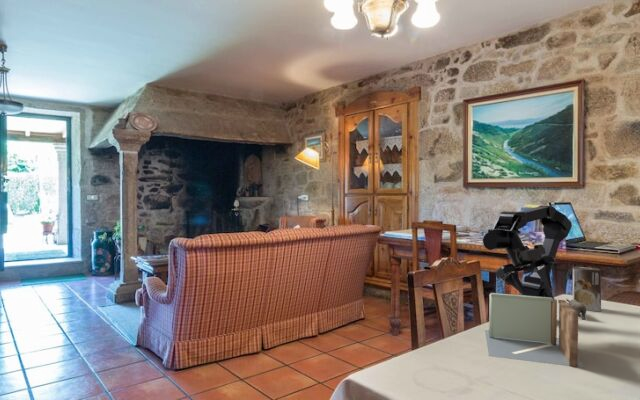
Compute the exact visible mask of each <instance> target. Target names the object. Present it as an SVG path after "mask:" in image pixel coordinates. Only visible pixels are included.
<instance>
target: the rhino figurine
mask: <svg viewBox="0 0 640 400" xmlns="http://www.w3.org/2000/svg"><path fill="white" fill-rule="evenodd" d="M565 301H566V302H567V303H568V304H569V305H570V306H571V307H572V308H573V309H574V310H575V311H576V312H578V317H582V318H581V320H582V321H587V319H586V317H587V316H586V314H587V310H586V307H585V306H584V305H583V304H581V303H580V302H577V301H576V300H575V299H573V298H572V299H571V300H569V299H568V298H566V300H565Z"/></svg>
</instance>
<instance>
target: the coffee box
mask: <svg viewBox="0 0 640 400" xmlns="http://www.w3.org/2000/svg"><path fill="white" fill-rule="evenodd" d="M572 299H575V300H576V301H577V302H580V303H581V304H583V305H584V306H585V307H586V311H591V312H598V313H600V312H602V271H601V269H600V268H597V267H584V266H572Z"/></svg>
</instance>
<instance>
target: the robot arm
mask: <svg viewBox="0 0 640 400" xmlns="http://www.w3.org/2000/svg"><path fill="white" fill-rule="evenodd" d="M534 221H539V223H540V224H541V225H542V227H543V228H542V231H543V234H544V240H543V242H542V243H540V244H534V245H533V248H530V247H529V246H528V245H524V243H523V241H522V239H521V237H520V234H521V232H522V231H521V230H520V229H523V228H524V227H526V226H527V225H528V223H531V222H534ZM572 225H573V223H572V221H571V220H570V219H569V218H568V216H567V215H566V214H564V213H562V212H561V211H559V210H558V209H556V207H554V206H552V205H539V206H538V207H533V208H529V209H525V210H520V211H509V210H508V211H505V210H504V211H501V212H500V215H499V216H498V218H497V220H496V221H495V223H494V225H493V227H492V228H488V230H487V233H485V234H484V236H483V238H482V244H483V247H485V249H487V250H489V251H495V250H505V251H506V253H507V254H505V256H506V258H508V259H510V261H511V263H507V264H504V265H501V266H499V268H497V269H496V270H495V277H496V278H497V280H501V281H502V282H504V281H505V282H506V283H508V284H509V285H510V286H511V287H512V288H514V289H516V290H517V291H518V292H519V293H520V295H525V296H538V297H550V298H553V299H555V297H554V295H552V293H551V289H552V280H551V270H552V268H553V267H554V264H555V263H556V262H557V261H556V259H555V258H556V256H557V253H558V250H559V247H560V243H561V242H562V241H563V240H564V239H566V238H567V237H568V236H569V234H570V231H571V229H572V227H573V226H572ZM530 269H533V272H532V273H531V274H530V275H525V276H524V279H523V282H521V280H520V277H519V272H521V271H526V270H530Z"/></svg>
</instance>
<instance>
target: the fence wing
mask: <svg viewBox="0 0 640 400" xmlns="http://www.w3.org/2000/svg"><path fill="white" fill-rule="evenodd" d="M488 306H489V307H488V309H489V315H488V316H489V318H488V322H489V323H488V324H489V325H488V326H489V327H488V328H489V337H491V338H494V337H500V338H509V339H518V340H527V341H536V342H545V343H551V344H556V342H557V338H558V337H557V331H558V329H557V326H558V325H557V322H558V321H557V320H558V319H557V316H558V315H557V314H558V300H557V299H556V298H554V299H553V298H550V297H538V296H525V295H522V294H509V293H497V292H490V293H489V305H488Z"/></svg>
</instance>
